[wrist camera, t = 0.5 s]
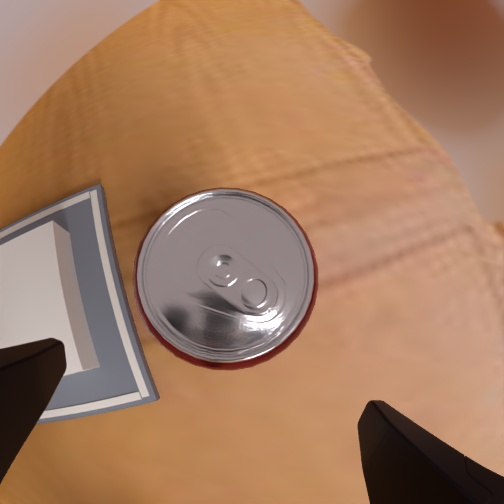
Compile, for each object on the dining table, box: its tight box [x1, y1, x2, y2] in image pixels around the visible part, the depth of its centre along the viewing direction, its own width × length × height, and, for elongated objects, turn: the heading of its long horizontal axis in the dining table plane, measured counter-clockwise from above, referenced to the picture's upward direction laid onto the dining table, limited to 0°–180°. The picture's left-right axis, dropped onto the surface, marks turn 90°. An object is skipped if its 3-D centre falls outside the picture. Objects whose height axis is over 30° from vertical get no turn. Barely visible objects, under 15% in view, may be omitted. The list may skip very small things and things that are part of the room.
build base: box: [0, 184, 160, 424], centre depth 19 cm, size 18×18×4 cm
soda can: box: [133, 188, 318, 370], centre depth 17 cm, size 7×7×12 cm
